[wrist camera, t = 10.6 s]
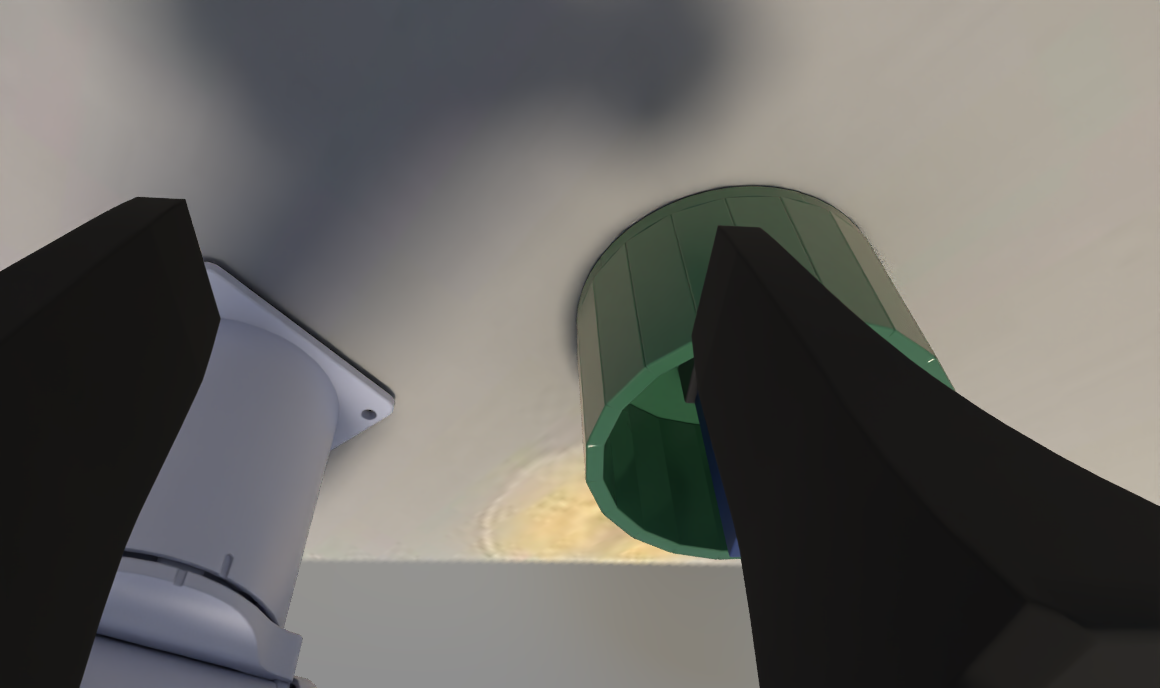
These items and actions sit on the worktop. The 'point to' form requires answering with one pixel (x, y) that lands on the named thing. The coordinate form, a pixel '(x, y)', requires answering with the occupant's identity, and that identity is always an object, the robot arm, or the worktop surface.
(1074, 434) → the worktop surface
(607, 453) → the cup
